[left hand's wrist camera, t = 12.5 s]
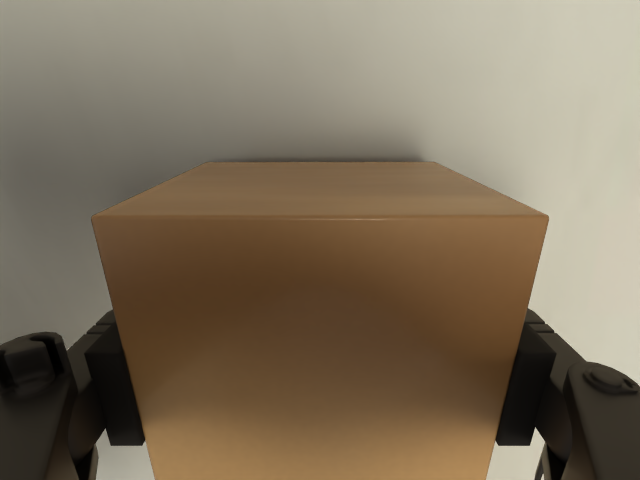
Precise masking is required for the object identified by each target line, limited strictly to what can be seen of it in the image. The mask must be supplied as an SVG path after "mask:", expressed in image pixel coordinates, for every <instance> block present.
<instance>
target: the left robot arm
mask: <svg viewBox="0 0 640 480" xmlns="http://www.w3.org/2000/svg"><path fill="white" fill-rule="evenodd" d="M535 427H536V429H537V430H538V431H539V433H540V434H541V436H542V437H543V439H544V440H545V444H544V448H543V451H542V454H541V457H540V460H539V464H538V467H537V470H536V474H535V480H541V477H542V474H543V473H544V480H640V387H639V385H638V384H637V383H636V382H634V381H633V380H632V379H630V378H629V377H628V376H626V375H625V374H623V373H621V372H619V371H617V370H615V369H613V368H611V367H608V366H605V365H602V364H599V363H593V362H586V361H585V360H584V359H583V358H582V357H581V356H580V355H579V354H578V353H577V352H576V351H575V350H574V349H573V348H572V347H571V346H570V345H569V344H567V343H566V342H565V341H564V340H563V339H562V338H561V337H560V336H559V335H558V334H557V333H554V330H553V329H552V328H551V327H550V326H548V325H547V324H545V322H544V321H543V320H542V319H541V318H540V317H539V316H538V315H537V314H536V313H535V312H534V311H532V310H530V309H528V308H527V312H526V316H525V320H524V324H523V328H522V333H521V337H520V341H519V345H518V349H517V353H516V357H515V361H514V365H513V370H512V374H511V378H510V382H509V386H508V390H507V394H506V398H505V402H504V407H503V411H502V415H501V419H500V423H499V427H498V431H497V435H496V439H495V440H496V442H497V444H498V446H530V443H531V440H532V436H533V433H534V429H535ZM105 428H106V431H107V434H108V438H109V441H110V445H111V446H142V445H143V443H144V441H145V436H144V432H143V428H142V424H141V420H140V416H139V412H138V408H137V404H136V400H135V396H134V392H133V388H132V384H131V380H130V375H129V371H128V367H127V363H126V359H125V355H124V351H123V347H122V343H121V339H120V335H119V331H118V327H117V323H116V319H115V315H114V310H111V311H109V312H107V313H106V314H105V315H104V316H103V317H102V318H101V319H100V320H99V321H98V322H97V323H96V325H94V326H93V327H92V328H91V329H89V330H88V331H87V334H84V335H83V336H82V337H81V338H80V339H79V340H78V341H77V342H76V343H75V344H74V345H73V346H72V347H71V348H70V349H69V350H68V351H66V349H65V345H64V342H63V339H62V336H60V335H59V334H57V333H53V332H40V333H32V334H29V335H25V336H22V337H18V338H16V339H14V340H11V341H9V342H7V343H4V344H2V345H1V346H0V480H96V473H97V465H98V452H97V448H96V444H95V443H96V442H97V440H98V439H99V437H100V436H101V434H102V433H103V431H104V430H105Z"/></svg>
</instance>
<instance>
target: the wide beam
mask: <svg viewBox="0 0 640 480" xmlns="http://www.w3.org/2000/svg"><path fill="white" fill-rule="evenodd" d="M91 221H92V225H93V229H94V233H95V237H96V241H97V246H98V250H99V254H100V258H101V262H102V266H103V270H104V274H105V278H106V282H107V286H108V290H109V294H110V298H111V302H112V306H113V310H114V315H115V319H116V323H117V327H118V331H119V335H120V339H121V343H122V347H123V351H124V355H125V359H126V363H127V367H128V371H129V375H130V380H131V384H132V388H133V392H134V396H135V400H136V404H137V408H138V412H139V416H140V420H141V424H142V428H143V432H144V436H145V440H146V445H147V449H148V453H149V457H150V461H151V465H152V469H153V473H154V477H155V480H486V476H487V472H488V468H489V464H490V460H491V456H492V452H493V448H494V443H495V439H496V435H497V431H498V427H499V423H500V419H501V415H502V411H503V407H504V402H505V398H506V394H507V390H508V386H509V382H510V378H511V374H512V370H513V365H514V361H515V357H516V353H517V349H518V345H519V341H520V337H521V333H522V328H523V324H524V320H525V316H526V312H527V308H528V304H529V300H530V296H531V291H532V287H533V283H534V279H535V275H536V271H537V267H538V263H539V259H540V255H541V250H542V246H543V242H544V238H545V234H546V230H547V226H548V222H549V217H548V215H546V214H543V213H541V212H539V211H537V210H535V209H533V208H531V207H529V206H527V205H524V204H522V203H520V202H518V201H516V200H514V199H512V198H510V197H507V196H505V195H503V194H501V193H499V192H497V191H495V190H493V189H491V188H488V187H486V186H484V185H482V184H480V183H478V182H476V181H474V180H471V179H469V178H467V177H465V176H463V175H461V174H459V173H457V172H455V171H452V170H450V169H448V168H446V167H444V166H442V165H440V164H438V163H435V162H206V163H204V164H202V165H199V166H197V167H195V168H193V169H191V170H189V171H187V172H185V173H182V174H180V175H178V176H176V177H174V178H172V179H170V180H168V181H165V182H163V183H161V184H159V185H157V186H155V187H153V188H151V189H148V190H146V191H144V192H142V193H140V194H138V195H136V196H133V197H131V198H129V199H127V200H125V201H123V202H121V203H119V204H116V205H114V206H112V207H110V208H108V209H106V210H104V211H102V212H99V213H97V214H95V215H93V216H92V217H91Z"/></svg>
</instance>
